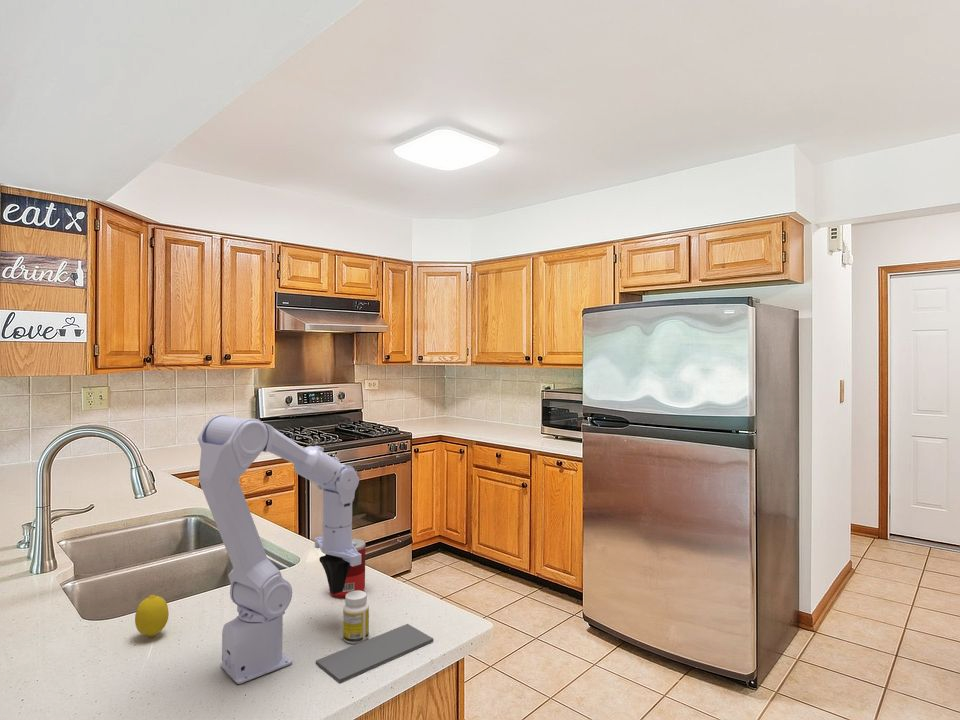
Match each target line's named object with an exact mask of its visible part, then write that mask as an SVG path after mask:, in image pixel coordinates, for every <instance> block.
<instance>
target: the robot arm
mask: <svg viewBox="0 0 960 720" xmlns="http://www.w3.org/2000/svg"><path fill="white" fill-rule="evenodd" d="M197 441H198V444H199V446H200V459H199V469H198V471H199V472H198V481H199V486H200V488H201V490H202V492H203V495H204V497H205V500H206V502H207V505H208V507H209V510H210V512H211V515H212V518H213V520H214V524H215V525H216V527H217V531H218V533H219V534H220V535H219V536H220V537H221V540H222V542H223V545H224V548H225V550H226V552H227V555H228V558H229V560H230V563H231V565H232V569H231V570H230V572H229V573H228V575H227V577H228V580H229V582H230V589H229V596H230V599H231V601H232V603H233V604H235V605H236V610H237V611H236V613H238V615H237V616H236V617H235V618H233V619H232V620H230V621H228V622H226V623H224V624H223V628H222V632H221V663H220V667H221V668H222V669H223V671H225V673H227V675H228V676H229V677H230V678H231V679H232V680H233V681H234V682H235V683H236V684H237V685H240V684H243V683H246V682H248V681H251V680H253V679H255V678H258V677H261V676H263V675H267V674H268V673H271V672H274V671H276V670H278V669H282V668H284V667H287V666H290V665H292V662H293V660H292V659H291V658H290V657H288V656H287V655H286V654H285V653H284V652H283V645H284V643H283V637H284V636H283V635H284V633H283V632H284V629H283V625H284V624H283V623H284V619H283V618H284V617H283V616H284V614H285V615H286V610H287V609H288V607H289V606H290V603H291V601H292V597H293V588H292V585H291V583H290V582H289V581H288V580H286V579H284V577H283V576H282V574H281V570H280V569H279V568H278V567H277V566H276V565H275V564H274V563H273V562H272V561H271V560H270V559H269V558H268V557H267V553H266V551H265V548H264V546H263V543H262V540H261V538H260V535H259V532H258V529H257V526H256V524H255V522H254V518H253V516H252V513H251V511H250V508H249V506H248V505H249V504H248V503H247V500H246V497H245V494H244V492H243V489H242V486H241V483H240V478H241V476H242V475H243V474H244V473H245V472H246V471H247V470H248V469H249V468H250V466H251V465H252V464H253V463H254V461H255V460H256V459H257V458H258V456H260V455H261V453H262V452H264V453H268V452H269V453H271V454H272V455H275V456H276V457H279V458H281V459H283V460H285V461H287V462H289V463H292V464H293V469H294V472H295V473H296V474H297V475H299V476H300V477H303V478H304V479H306V480H308V481H310V482H312V483H314V484H316V486H317V489H318V490H322V529H321V530H322V531H321V532H322V536H317V537H314V548H316V549H319V550H320V552H321V553H323V554H324V555H322V556H320V557H319V562H320V564H321V565H322V568H323V570H324V572H325V575H326V579H327V584H328V588H330V591H329V593H330V592H331V593H333V594H336V593H339V592H342V591H343V588H344V585H345V581H346V577H347V574H348V572H349V569H350V567H351V566H352V567H353V566H356V565H360V564H361V554H360V553H358V552H357V550H356V549H355V546H356V542H354V541H352V537H353V502H354V500H355V498H356V497H355V494H356V490H357V488H358V487H359V483H360V477H359V476H358V473H357V471H356V469H355V468H354V467H353V466H352V465H350V464H343V463H341V462H340V459H339V458H338V457H336V456H330V455H328V454H327V453H326V452H324V450H325V448H323V446H319V445H314V446H313V445H309V446H306V447H303V446H301V445H299V444H298V443H296V442H295V441H294V440H292V439H290V438H289V437H288V436H287V435H285V434H284V433H282V432H280V431H278V430H277V429H276V428H274V427H273V426H272V425H271V424H268V423H264V422H263V421H261V420H260V419H257V418H253V417H252V418H245V417H235V416H230V415H227V414H217V415H215V416H212V417H211V418H209V419H208V420H207V422H206V423H205V424H204V425H203V428H202V430H201V432H200V433H199V435H198V437H197Z"/></svg>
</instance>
